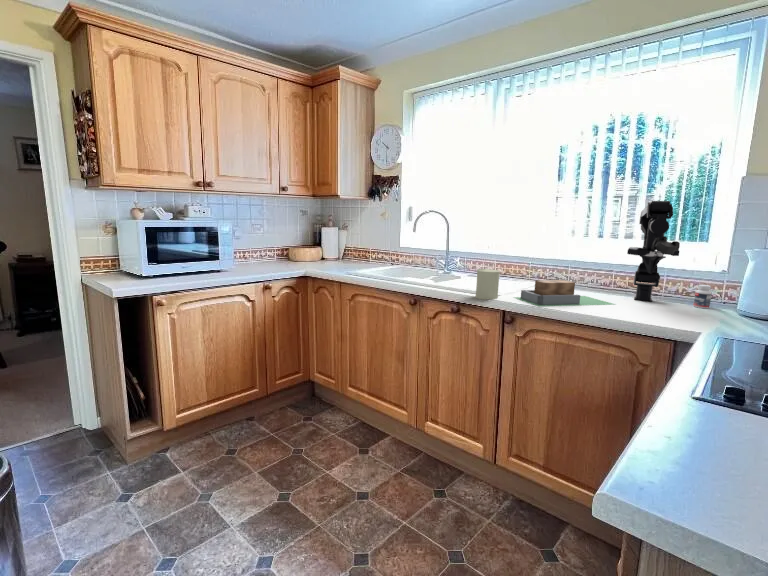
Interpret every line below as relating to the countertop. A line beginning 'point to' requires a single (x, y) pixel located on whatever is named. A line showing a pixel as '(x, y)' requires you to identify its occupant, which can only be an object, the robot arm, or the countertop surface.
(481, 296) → the can
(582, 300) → the mat
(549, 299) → the grey tray
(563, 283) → the walnut block
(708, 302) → the pill bottle
